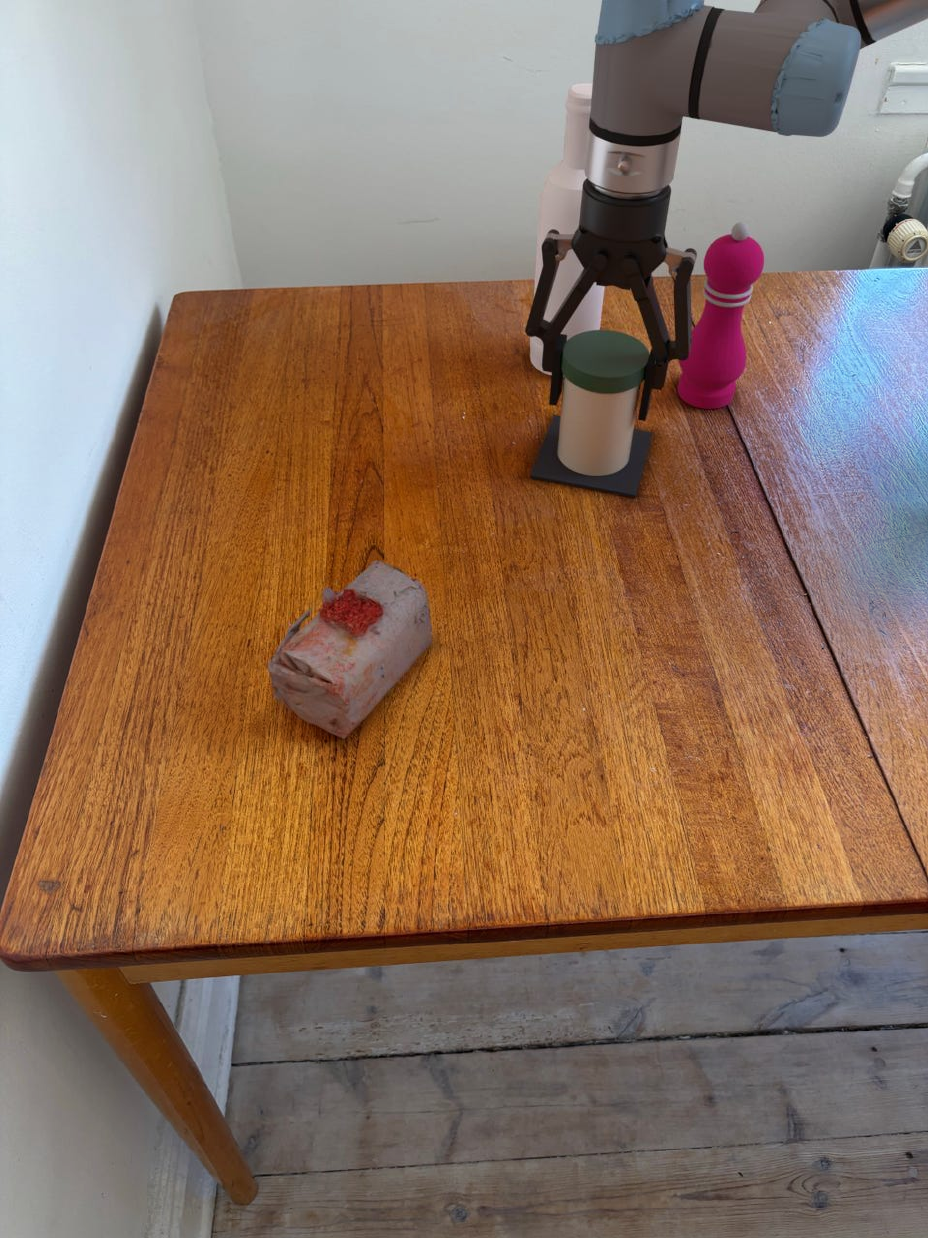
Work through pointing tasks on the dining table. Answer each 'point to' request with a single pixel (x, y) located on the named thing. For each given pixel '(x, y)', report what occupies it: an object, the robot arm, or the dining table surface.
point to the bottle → (567, 222)
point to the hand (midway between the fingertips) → (599, 405)
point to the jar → (596, 429)
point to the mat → (615, 483)
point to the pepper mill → (721, 321)
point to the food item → (352, 649)
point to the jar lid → (604, 361)
